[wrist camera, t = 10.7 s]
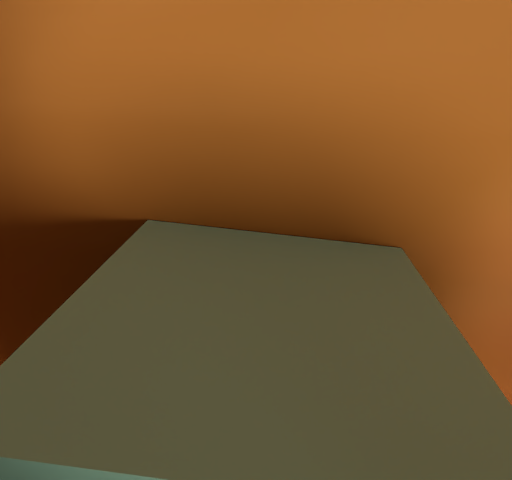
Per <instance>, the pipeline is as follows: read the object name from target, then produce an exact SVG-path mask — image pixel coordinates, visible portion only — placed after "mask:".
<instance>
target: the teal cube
mask: <svg viewBox="0 0 512 480" xmlns="http://www.w3.org/2000/svg"><path fill="white" fill-rule="evenodd" d="M0 480H512V406H511V404H510V403H509V401H508V400H507V399H506V397H505V396H504V394H503V393H502V391H501V390H500V389H499V387H498V386H497V384H496V383H495V381H494V380H493V378H492V377H491V376H490V374H489V373H488V371H487V370H486V368H485V367H484V366H483V364H482V363H481V361H480V360H479V358H478V357H477V356H476V354H475V353H474V351H473V350H472V348H471V347H470V346H469V344H468V343H467V341H466V340H465V338H464V337H463V335H462V334H461V333H460V331H459V330H458V328H457V327H456V325H455V324H454V323H453V321H452V320H451V318H450V317H449V315H448V314H447V313H446V311H445V310H444V308H443V307H442V305H441V304H440V303H439V301H438V300H437V298H436V297H435V295H434V294H433V292H432V291H431V290H430V288H429V287H428V285H427V284H426V282H425V281H424V280H423V278H422V277H421V275H420V274H419V272H418V271H417V270H416V268H415V267H414V265H413V264H412V262H411V261H410V259H409V258H408V257H407V255H406V254H405V252H404V251H403V249H402V248H397V247H388V246H379V245H370V244H361V243H352V242H343V241H334V240H325V239H316V238H307V237H298V236H289V235H280V234H271V233H262V232H253V231H244V230H235V229H226V228H217V227H208V226H199V225H190V224H181V223H172V222H163V221H154V220H147V221H146V222H145V223H144V224H143V225H142V226H141V227H140V228H139V229H138V230H137V231H136V232H135V233H134V234H133V235H132V236H131V237H130V238H129V239H128V240H127V241H126V242H125V243H124V244H123V245H122V246H121V247H120V248H119V249H118V250H117V251H116V252H115V253H114V254H113V255H112V256H111V257H110V258H109V259H108V260H107V261H106V262H105V263H104V264H103V265H102V266H101V267H100V268H99V269H98V270H97V271H96V272H95V273H94V274H93V275H92V276H91V277H90V278H89V279H88V280H87V281H86V282H85V283H84V284H83V285H82V286H81V287H79V288H78V289H77V290H76V291H75V292H74V293H73V294H72V295H71V296H70V297H69V298H68V299H67V300H66V301H65V302H64V303H63V304H62V305H61V306H60V307H59V308H58V309H57V310H56V311H55V312H54V313H53V314H52V315H51V316H50V317H49V318H48V319H47V320H46V321H45V322H44V323H43V324H42V325H41V326H40V327H39V328H38V329H37V330H36V331H35V332H34V333H33V334H32V335H31V336H30V337H29V338H28V339H27V340H26V341H25V342H24V343H23V344H22V345H21V346H20V347H19V348H18V349H17V350H16V351H15V352H14V353H13V354H12V355H11V356H10V357H9V358H8V359H7V360H6V361H5V362H4V363H3V364H2V365H1V366H0Z"/></svg>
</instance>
